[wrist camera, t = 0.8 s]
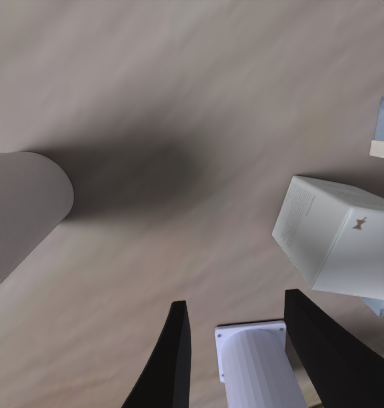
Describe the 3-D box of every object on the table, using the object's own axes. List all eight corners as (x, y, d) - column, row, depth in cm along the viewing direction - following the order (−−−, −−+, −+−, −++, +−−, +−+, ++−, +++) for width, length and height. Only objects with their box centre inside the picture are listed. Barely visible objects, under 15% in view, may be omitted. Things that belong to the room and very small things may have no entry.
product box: (269, 234, 21) (309, 291, 14) (292, 172, 19) (352, 204, 12) (328, 244, 21) (395, 304, 14) (357, 186, 19) (452, 223, 12)
